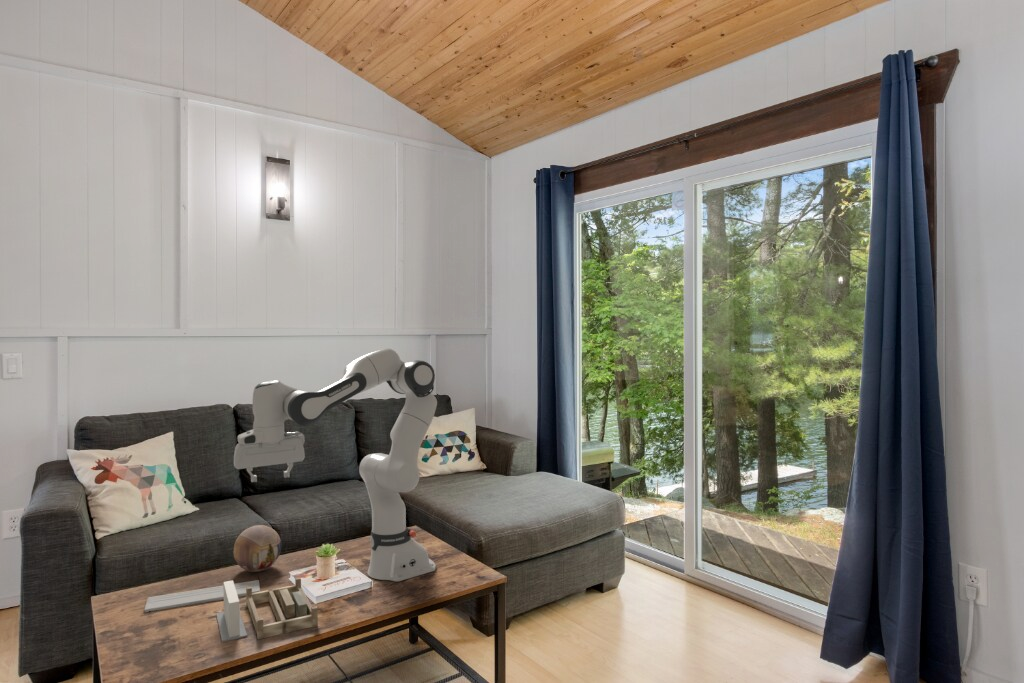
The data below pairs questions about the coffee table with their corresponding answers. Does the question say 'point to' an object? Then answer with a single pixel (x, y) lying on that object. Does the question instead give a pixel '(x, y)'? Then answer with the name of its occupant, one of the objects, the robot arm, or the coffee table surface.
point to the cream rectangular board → (231, 608)
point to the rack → (279, 612)
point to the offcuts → (292, 603)
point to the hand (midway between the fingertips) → (270, 479)
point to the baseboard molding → (197, 596)
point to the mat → (224, 629)
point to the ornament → (257, 548)
